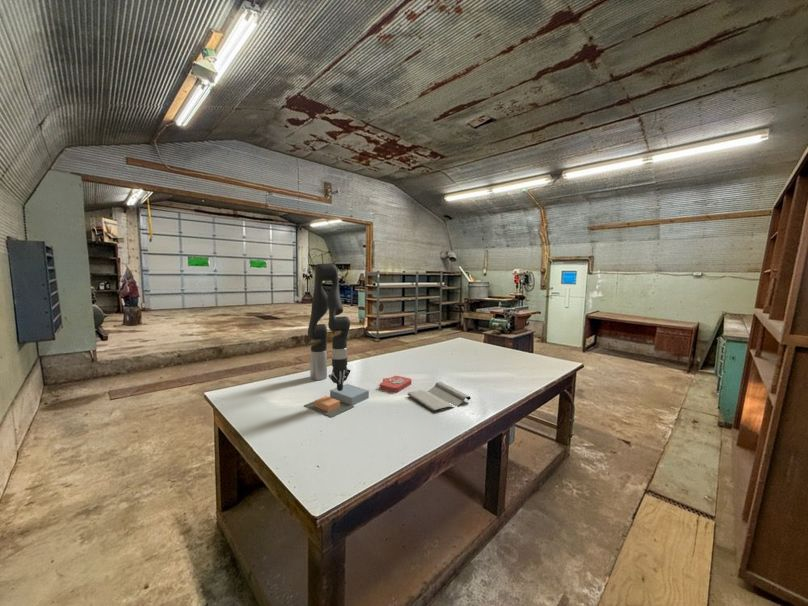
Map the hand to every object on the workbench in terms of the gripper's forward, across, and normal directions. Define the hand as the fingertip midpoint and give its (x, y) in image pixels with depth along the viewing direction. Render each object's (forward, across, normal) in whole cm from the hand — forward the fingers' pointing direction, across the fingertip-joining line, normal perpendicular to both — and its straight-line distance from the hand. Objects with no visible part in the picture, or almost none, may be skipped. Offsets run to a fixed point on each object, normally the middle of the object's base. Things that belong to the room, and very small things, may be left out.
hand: (339, 390), depth 158 cm
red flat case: (+7, -35, +7) cm, 36 cm away
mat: (+7, -33, +38) cm, 50 cm away
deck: (+6, -6, 0) cm, 9 cm away
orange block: (+3, +8, 0) cm, 9 cm away
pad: (+6, +7, 0) cm, 9 cm away
